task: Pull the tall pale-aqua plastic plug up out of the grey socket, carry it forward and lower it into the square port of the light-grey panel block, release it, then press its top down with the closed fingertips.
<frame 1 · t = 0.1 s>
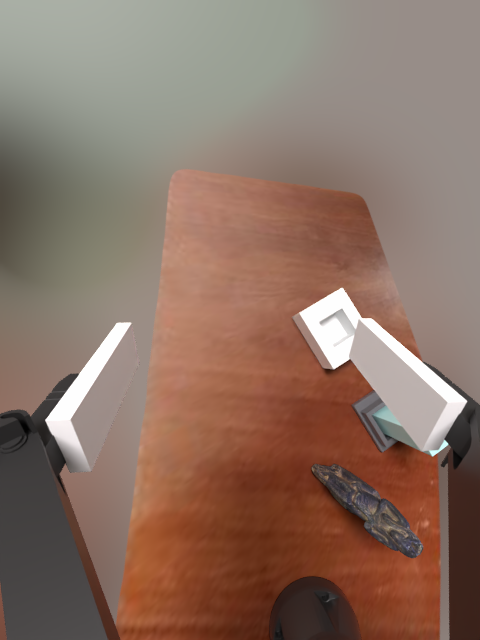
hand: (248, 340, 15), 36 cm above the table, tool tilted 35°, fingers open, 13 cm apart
grey socket: (380, 416, 51), on the table
plug: (384, 417, 50), point 1 cm above the table, touching grey socket
carved stone figurine: (337, 479, 49), on the table
port: (327, 330, 52), on the table
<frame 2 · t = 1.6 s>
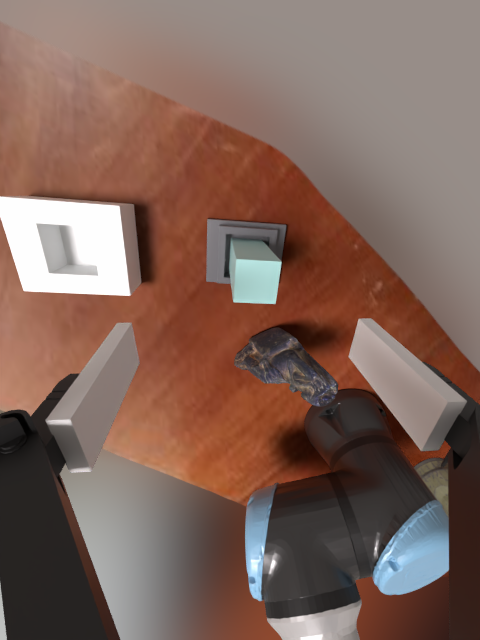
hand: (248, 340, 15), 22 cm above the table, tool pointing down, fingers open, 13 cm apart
grey socket: (244, 252, 35), on the table
olive green bottle: (427, 469, 61), on the table
plug: (244, 254, 34), point 1 cm above the table, touching grey socket
carved stone figurine: (267, 341, 41), on the table
port: (89, 243, 33), on the table
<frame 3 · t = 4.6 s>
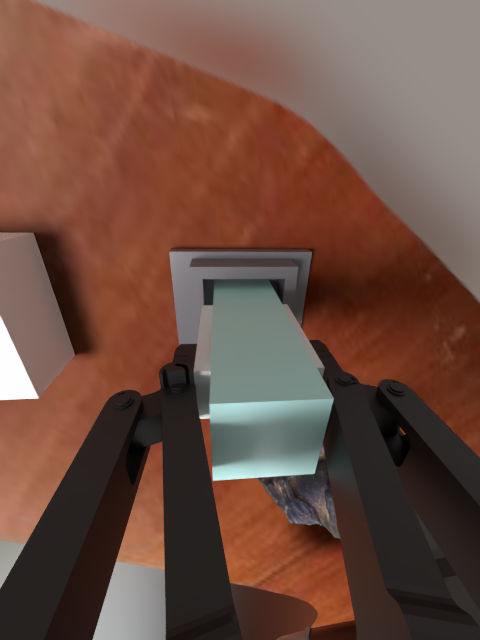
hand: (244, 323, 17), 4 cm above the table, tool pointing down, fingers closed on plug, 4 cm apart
grey socket: (239, 299, 20), on the table
plug: (240, 304, 20), point 1 cm above the table, touching gripper, grey socket
carved stone figurine: (283, 417, 28), on the table
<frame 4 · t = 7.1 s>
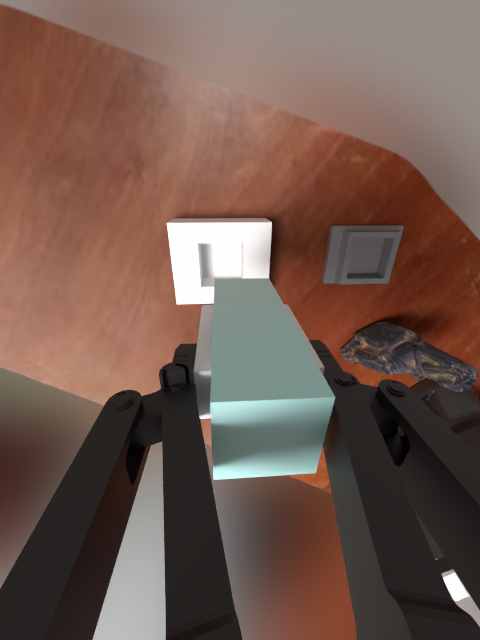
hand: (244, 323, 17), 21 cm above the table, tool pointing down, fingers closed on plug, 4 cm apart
grey socket: (358, 254, 37), on the table
plug: (241, 303, 20), point 18 cm above the table, touching gripper
carved stone figurine: (368, 335, 44), on the table
port: (221, 256, 36), on the table
when the fingers open (6 cm above the table, at t = 10.0 s): plug drops 1 cm, resting on port.
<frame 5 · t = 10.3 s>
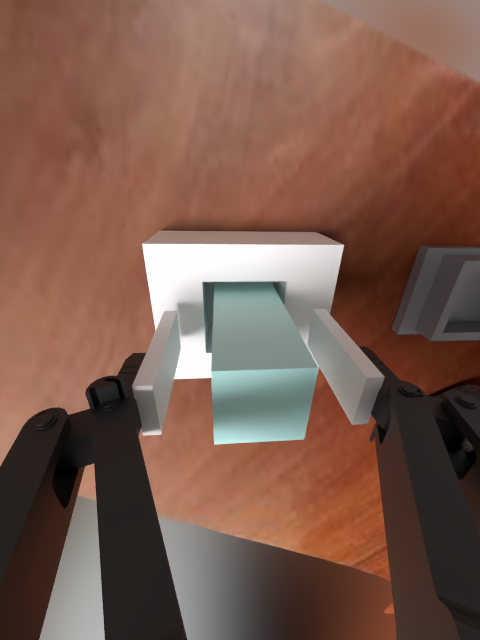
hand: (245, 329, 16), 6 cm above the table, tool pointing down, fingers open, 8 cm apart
grey socket: (455, 290, 23), on the table
plug: (239, 296, 21), point 1 cm above the table, touching port
port: (238, 292, 22), on the table
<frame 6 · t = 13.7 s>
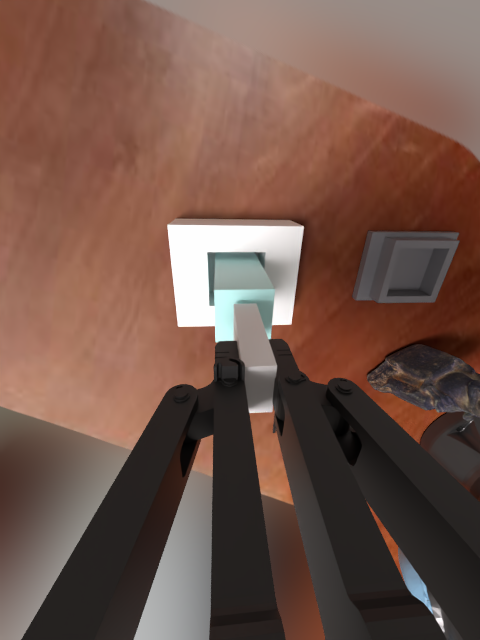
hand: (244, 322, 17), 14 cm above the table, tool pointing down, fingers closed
grey socket: (399, 265, 31), on the table
plug: (234, 267, 28), point 1 cm above the table, touching port
carved stone figurine: (401, 358, 38), on the table
port: (233, 266, 29), on the table
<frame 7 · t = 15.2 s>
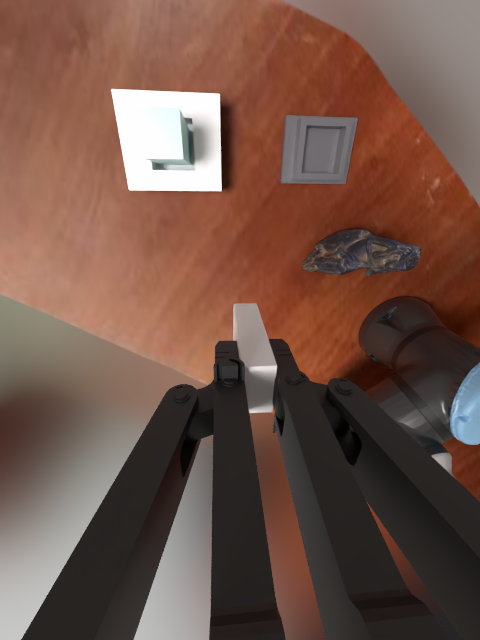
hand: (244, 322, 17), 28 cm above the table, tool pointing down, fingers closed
grey socket: (315, 152, 37), on the table
plug: (175, 147, 35), point 1 cm above the table, touching port
carved stone figurine: (330, 248, 45), on the table
port: (176, 149, 35), on the table
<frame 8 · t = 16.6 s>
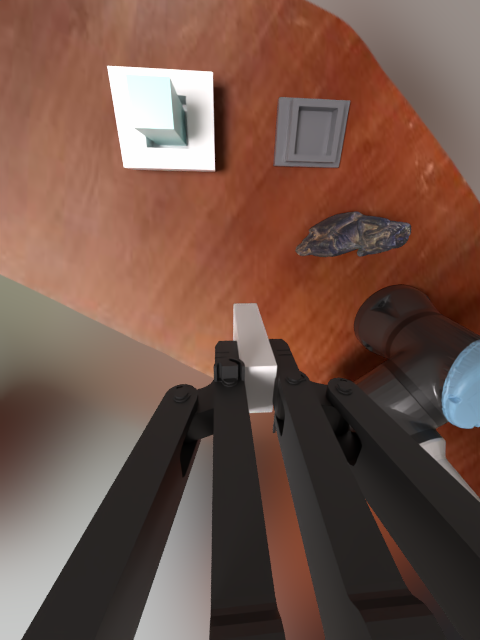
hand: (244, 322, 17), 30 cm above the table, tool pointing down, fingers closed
grey socket: (308, 135, 38), on the table
plug: (170, 128, 35), point 1 cm above the table, touching port
carved stone figurine: (324, 233, 45), on the table
port: (172, 130, 36), on the table
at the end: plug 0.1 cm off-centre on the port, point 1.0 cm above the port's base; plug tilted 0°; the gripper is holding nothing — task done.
